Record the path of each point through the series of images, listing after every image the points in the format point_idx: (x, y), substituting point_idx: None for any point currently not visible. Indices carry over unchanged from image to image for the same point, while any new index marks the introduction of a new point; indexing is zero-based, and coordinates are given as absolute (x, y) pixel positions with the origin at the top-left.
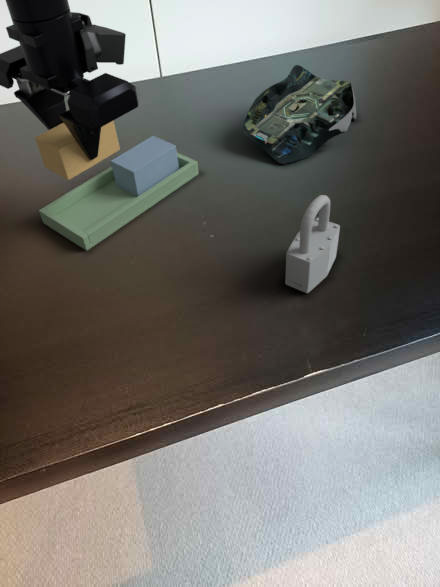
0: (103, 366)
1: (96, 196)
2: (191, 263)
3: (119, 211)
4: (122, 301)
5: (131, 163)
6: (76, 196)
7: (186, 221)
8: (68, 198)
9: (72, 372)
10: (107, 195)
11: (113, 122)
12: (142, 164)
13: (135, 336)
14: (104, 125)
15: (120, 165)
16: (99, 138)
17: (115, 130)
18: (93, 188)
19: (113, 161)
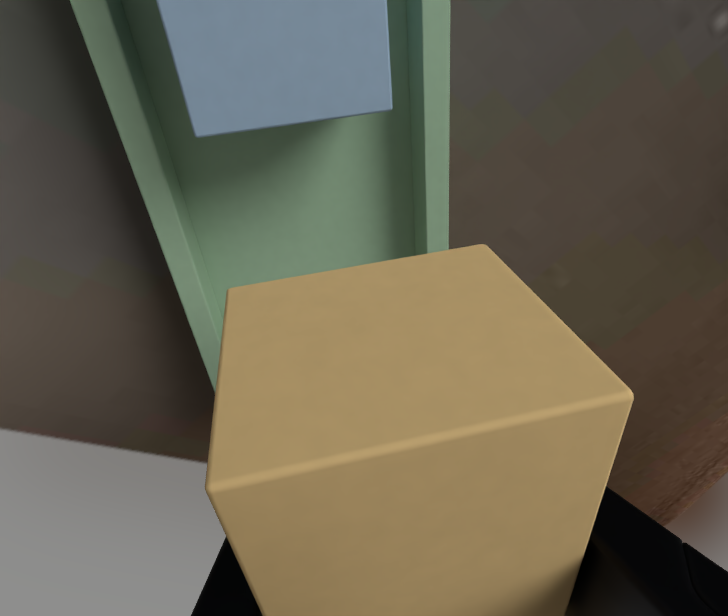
0: (672, 428)
1: (229, 217)
2: (709, 167)
3: (439, 240)
4: (618, 353)
5: (310, 58)
6: (209, 293)
7: (599, 30)
8: (218, 328)
9: (634, 461)
10: (254, 181)
11: (616, 380)
12: (373, 14)
13: (690, 371)
14: (605, 470)
15: (283, 123)
16: (629, 505)
17: (570, 330)
18: (184, 210)
19: (214, 128)
